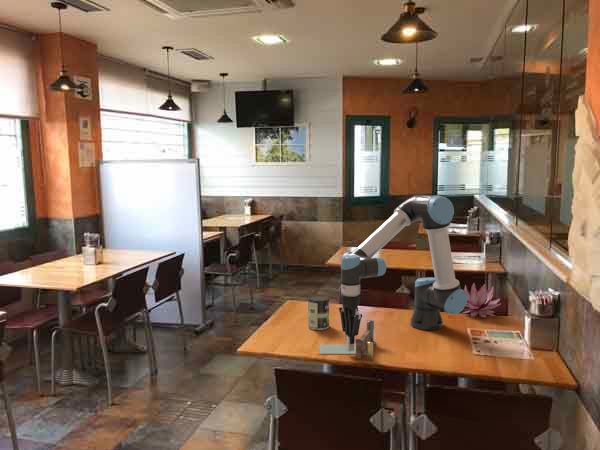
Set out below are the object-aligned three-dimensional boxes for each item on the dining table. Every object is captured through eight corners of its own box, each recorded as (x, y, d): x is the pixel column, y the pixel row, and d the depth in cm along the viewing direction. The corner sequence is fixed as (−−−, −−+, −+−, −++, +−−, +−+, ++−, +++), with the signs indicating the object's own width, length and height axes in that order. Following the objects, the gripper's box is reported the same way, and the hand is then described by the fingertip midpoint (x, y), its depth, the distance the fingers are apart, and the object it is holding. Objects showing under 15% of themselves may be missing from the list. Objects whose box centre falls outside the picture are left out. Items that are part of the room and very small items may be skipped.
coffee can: (330, 323, 231) (330, 295, 230) (327, 330, 221) (327, 301, 220) (309, 322, 234) (309, 294, 232) (306, 329, 224) (305, 300, 222)
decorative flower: (481, 324, 229) (482, 294, 227) (447, 312, 247) (447, 284, 245) (509, 317, 239) (511, 288, 237) (475, 306, 258) (476, 279, 256)
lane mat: (365, 345, 203) (365, 344, 203) (368, 354, 193) (368, 353, 193) (319, 345, 204) (319, 344, 204) (319, 354, 194) (319, 353, 194)
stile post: (372, 358, 189) (372, 341, 189) (373, 360, 187) (373, 343, 186) (366, 358, 189) (366, 341, 189) (367, 360, 187) (367, 343, 186)
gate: (366, 342, 203) (366, 327, 202) (371, 343, 203) (371, 327, 202) (355, 357, 188) (355, 340, 187) (360, 358, 187) (360, 341, 186)
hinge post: (375, 341, 207) (375, 319, 206) (376, 345, 203) (376, 323, 201) (363, 341, 208) (363, 319, 206) (364, 345, 203) (365, 323, 201)
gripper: (333, 291, 193) (333, 347, 196) (352, 299, 182) (352, 357, 185) (348, 289, 197) (348, 343, 200) (368, 296, 186) (367, 354, 189)
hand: (350, 350), depth 193 cm, fingers closed
